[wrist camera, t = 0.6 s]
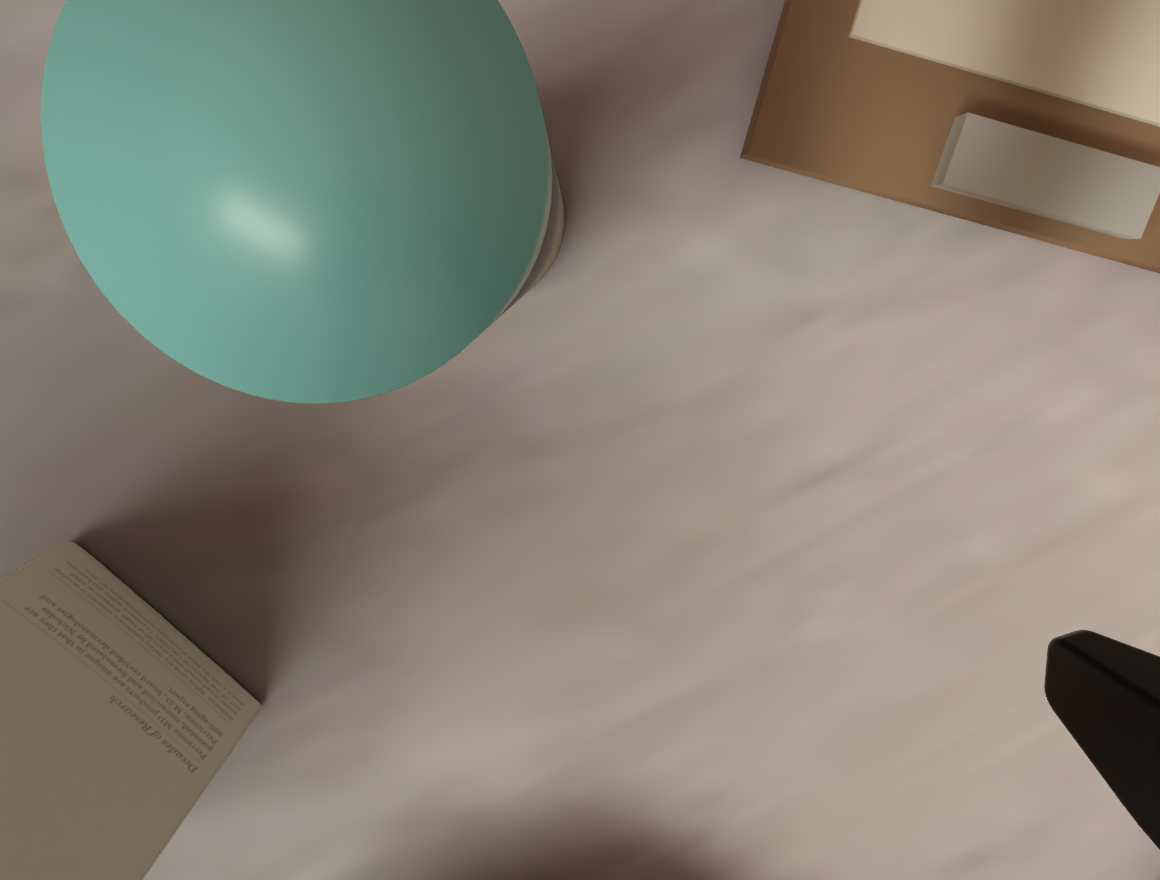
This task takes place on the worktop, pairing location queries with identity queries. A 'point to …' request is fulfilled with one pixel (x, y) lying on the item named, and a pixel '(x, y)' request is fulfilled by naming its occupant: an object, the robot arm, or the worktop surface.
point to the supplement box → (101, 723)
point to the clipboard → (977, 112)
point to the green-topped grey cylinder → (301, 181)
